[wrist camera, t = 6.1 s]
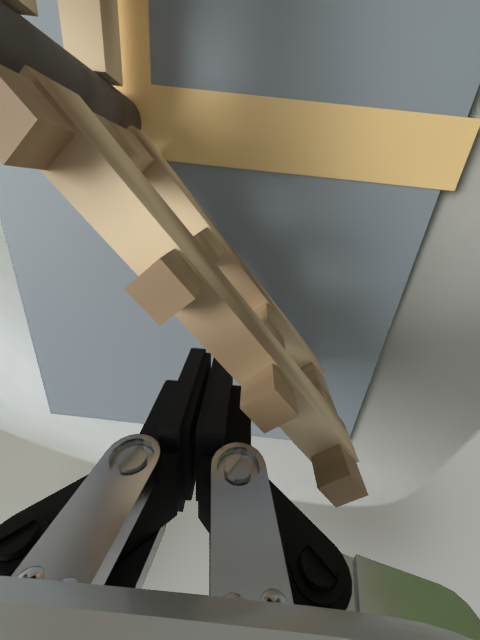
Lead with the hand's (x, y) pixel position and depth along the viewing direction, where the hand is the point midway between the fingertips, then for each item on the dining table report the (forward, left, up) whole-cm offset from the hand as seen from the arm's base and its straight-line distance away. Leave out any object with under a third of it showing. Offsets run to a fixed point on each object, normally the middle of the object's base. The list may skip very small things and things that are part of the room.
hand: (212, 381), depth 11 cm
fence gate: (-4, 0, -4) cm, 5 cm away
